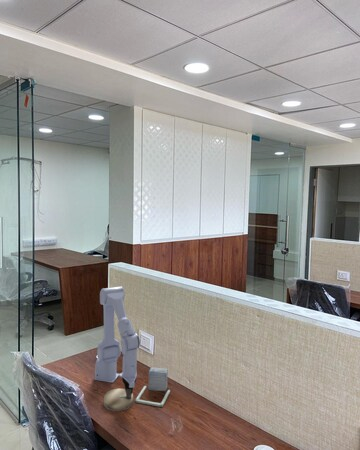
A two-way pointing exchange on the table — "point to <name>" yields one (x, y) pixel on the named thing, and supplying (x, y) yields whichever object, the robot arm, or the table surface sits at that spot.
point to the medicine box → (158, 379)
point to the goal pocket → (149, 401)
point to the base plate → (119, 409)
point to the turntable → (118, 398)
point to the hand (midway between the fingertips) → (128, 394)
